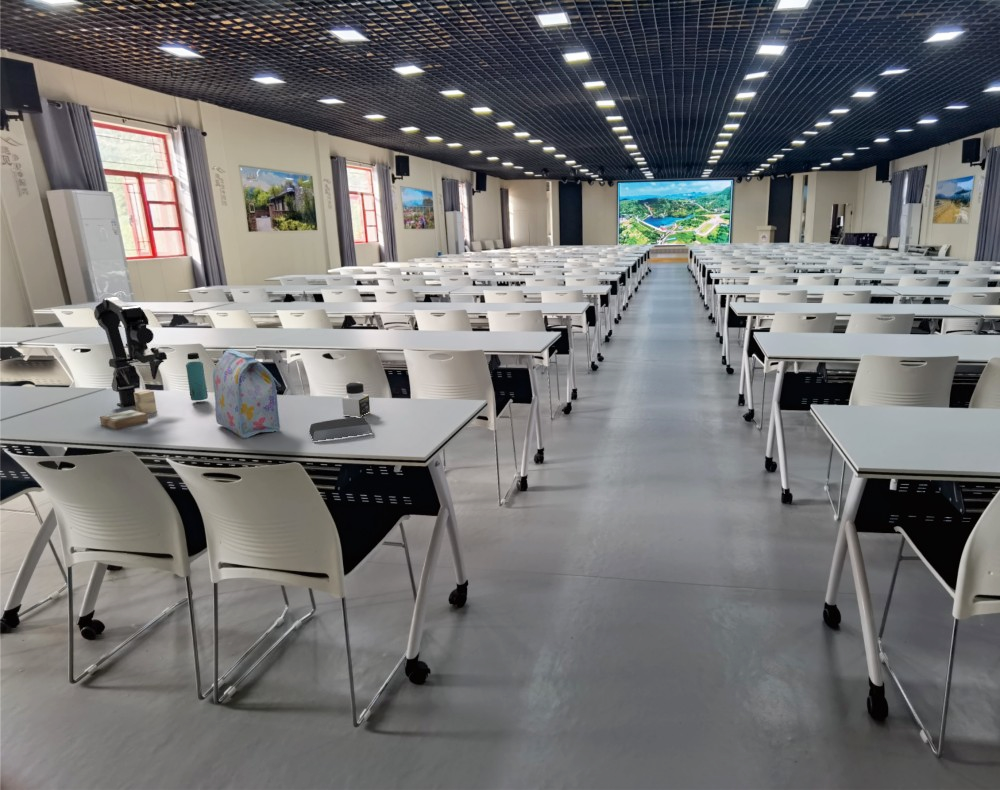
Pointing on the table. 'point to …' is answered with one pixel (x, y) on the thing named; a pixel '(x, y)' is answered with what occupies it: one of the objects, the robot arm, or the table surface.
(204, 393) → the beverage bottle
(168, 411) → the table surface
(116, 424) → the picture frame
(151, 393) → the oak block
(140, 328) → the robot arm
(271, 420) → the lunch bag
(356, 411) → the medicine bottle
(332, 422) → the external hard drive
